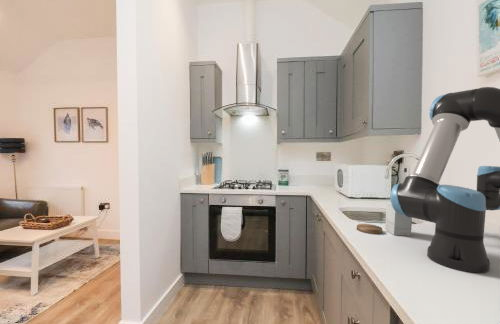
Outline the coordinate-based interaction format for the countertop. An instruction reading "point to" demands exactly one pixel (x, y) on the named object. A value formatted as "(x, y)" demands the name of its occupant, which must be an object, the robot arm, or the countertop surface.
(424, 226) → the countertop surface
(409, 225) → the supplement box
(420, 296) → the countertop surface
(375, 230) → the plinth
